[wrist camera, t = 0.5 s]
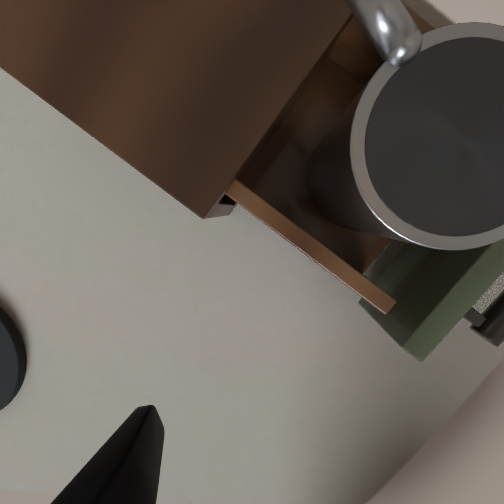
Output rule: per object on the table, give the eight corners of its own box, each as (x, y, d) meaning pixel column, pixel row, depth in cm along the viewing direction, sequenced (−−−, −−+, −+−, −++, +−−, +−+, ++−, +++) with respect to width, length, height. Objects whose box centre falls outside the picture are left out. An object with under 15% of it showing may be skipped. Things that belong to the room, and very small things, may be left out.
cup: (432, 188, 19) (642, 162, 8) (344, 248, 19) (434, 296, 9) (344, 56, 18) (453, -157, 7) (257, 124, 19) (243, 15, 8)
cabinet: (350, 48, 20) (415, -74, 11) (228, 215, 21) (203, 219, 13) (169, -96, 19) (91, -342, 11) (59, 87, 21) (-87, 2, 12)
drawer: (545, 207, 19) (693, 206, 13) (419, 348, 21) (490, 415, 14) (330, 36, 19) (366, -61, 12) (216, 195, 20) (190, 189, 14)
